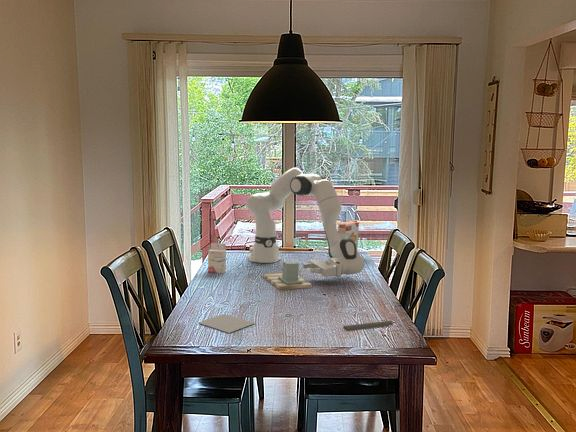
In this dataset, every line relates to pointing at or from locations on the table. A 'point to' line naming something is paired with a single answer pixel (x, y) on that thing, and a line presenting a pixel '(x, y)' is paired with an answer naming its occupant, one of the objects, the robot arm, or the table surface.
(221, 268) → the ink cartridge box
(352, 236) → the cracker box
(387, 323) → the half round rod
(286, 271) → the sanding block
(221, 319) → the paper stack
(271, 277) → the birch board
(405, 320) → the table surface
